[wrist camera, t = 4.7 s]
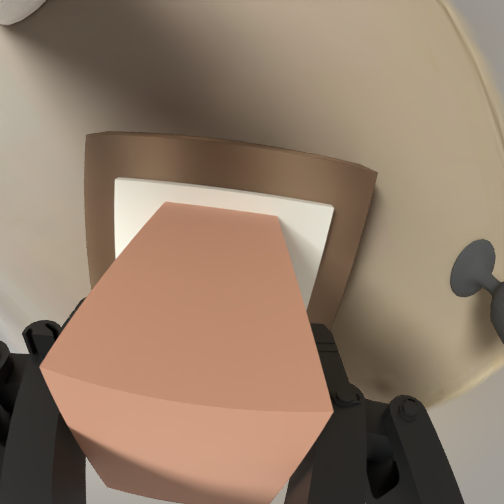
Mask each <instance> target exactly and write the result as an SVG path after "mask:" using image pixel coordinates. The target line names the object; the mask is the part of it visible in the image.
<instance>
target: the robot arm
mask: <svg viewBox="0 0 504 504" xmlns="http://www.w3.org/2000/svg"><path fill="white" fill-rule="evenodd" d="M85 299H86V297H85V298H84V299H82V300H81V301H80V302H79V304H78V305H77V306H76V308H75V310H74V311H73V312H72V313H71V315H70V317H69V318H68V319H67V320H66V322H65V323H64V324H63V326H62V327H60V325H59V324H57V323H56V322H54V321H49V320H40V321H37V322H34V323H32V324H30V325H29V326H27V327H26V328H25V329H24V331H23V332H22V335H23V338H24V340H25V343H26V346H27V348H28V351H29V353H30V354H16V353H10V351H9V349H8V347H7V345H6V344H5V343H4V342H2V341H0V504H86V482H85V481H86V480H85V467H86V464H85V463H86V460H85V459H86V456H85V454H84V452H83V451H82V449H81V448H80V446H79V444H78V443H77V441H76V439H75V438H74V436H73V434H72V432H71V431H70V429H69V427H68V425H67V424H66V422H65V420H64V418H63V416H62V414H61V412H60V410H59V408H58V406H57V404H56V402H55V400H54V398H53V396H52V394H51V392H50V390H49V388H48V386H47V383H46V381H45V379H44V377H43V374H42V372H41V370H40V365H41V363H42V362H43V360H44V359H45V357H46V355H47V354H48V352H49V351H50V349H51V348H52V346H53V345H54V343H55V342H56V340H57V339H58V337H59V336H60V334H61V333H62V331H63V330H64V328H65V327H66V325H67V324H68V322H69V321H70V320H71V318H72V317H73V315H74V314H75V313H76V311H77V310H78V308H79V307H80V306H81V304H82V303H83V301H84V300H85ZM310 326H311V330H312V333H313V337H314V340H315V344H316V348H317V351H318V355H319V358H320V362H321V366H322V369H323V373H324V377H325V380H326V384H327V388H328V392H329V396H330V399H331V403H332V407H333V411H334V412H333V413H332V415H331V417H330V418H329V420H328V422H327V423H326V425H325V427H324V428H323V430H322V431H321V433H320V435H319V436H318V438H317V439H316V441H315V442H314V444H313V445H312V447H311V448H310V450H309V451H308V453H307V454H306V456H305V457H304V459H303V460H302V461H301V463H300V464H299V466H298V467H297V469H296V470H295V471H294V473H293V474H292V475H291V477H290V479H289V484H288V489H287V493H286V497H285V502H284V504H365V503H366V504H464V501H463V498H462V496H461V493H460V490H459V487H458V485H457V482H456V479H455V477H454V474H453V471H452V469H451V466H450V464H449V461H448V459H447V456H446V454H445V452H444V449H443V447H442V445H441V442H440V440H439V438H438V436H437V433H436V431H435V428H434V426H433V424H432V422H431V420H430V418H429V415H428V413H427V411H426V409H425V407H424V406H423V404H422V403H421V402H420V401H418V400H417V399H416V398H413V397H411V396H407V395H400V396H397V397H395V398H394V399H393V400H392V401H391V402H390V404H385V403H380V402H376V401H371V400H368V399H365V398H364V395H363V394H362V392H361V391H360V390H359V389H358V388H357V387H355V386H354V385H352V384H350V383H349V381H348V378H347V375H346V372H345V369H344V366H343V363H342V360H341V358H340V355H339V353H338V349H337V346H336V345H335V341H334V338H333V335H332V333H331V332H330V331H329V329H328V328H327V327H326V326H325V325H324V324H317V323H310Z"/></svg>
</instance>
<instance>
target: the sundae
mask: <svg viewBox="0 0 504 504" xmlns="http://www.w3.org/2000/svg"><path fill="white" fill-rule="evenodd" d="M494 264H495V252H494V248H493V246H492V244H491V243H490V242H489V241H487V240H483V239H481V240H477V241H474V242H472V243H471V244H469V245H468V246H467V247H466V248H465V249H464V250H463V251H462V252H461V254H460V255H459V256H458V258H457V260H456V262H455V264H454V266H453V269H452V273H451V281H450V282H451V287H452V291H453V292H454V293H455V294H456V295H457V296H460V297H468V296H471V295H473V294H475V293H476V292H478V291H479V290H480V289H481V288H482V287H483V288H484V289H486V290H487V291H488V292H489V293H490V294H491V295H492V302H491V312H490V317H491V322H492V324H493V326H494V328H495V330H496V332H497V334H498V336H499V337H500V339H501V341H502V342H503V344H504V282H500V281H498V280H497V279H496V278H495V277H494V276H493V275H492V274H491V273H492V271H493V268H494Z"/></svg>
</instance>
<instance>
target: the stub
mask: <svg viewBox="0 0 504 504" xmlns="http://www.w3.org/2000/svg"><path fill="white" fill-rule="evenodd" d="M333 211H334V207H333V206H332V205H330V204H324V203H319V202H313V201H307V200H301V199H295V198H289V197H283V196H276V195H270V194H263V193H256V192H249V191H242V190H235V189H227V188H220V187H212V186H203V185H195V184H186V183H177V182H167V181H157V180H146V179H135V178H123V177H118V178H117V179H115V193H114V228H115V257H116V260H115V261H114V262H113V263H112V265H111V266H110V267H109V268H108V270H107V271H106V272H105V274H104V275H103V276H102V277H101V279H100V280H99V281H98V283H97V284H96V285H95V287H94V288H93V289H92V291H91V292H90V293H89V295H88V296H87V297H86V299H85V300H84V301H83V303H82V304H81V306H80V307H79V308H78V310H77V311H76V313H75V314H74V315H73V317H72V318H71V320H70V321H69V322H68V324H67V325H66V327H65V328H64V330H63V331H62V333H61V334H60V336H59V337H58V339H57V340H56V342H55V343H54V345H53V346H52V348H51V349H50V351H49V352H48V354H47V355H46V357H45V359H44V360H43V362H42V363H41V365H40V370H41V372H42V374H43V377H44V379H45V381H46V383H47V386H48V388H49V390H50V392H51V394H52V396H53V398H54V400H55V402H56V404H57V406H58V408H59V410H60V412H61V414H62V416H63V418H64V420H65V422H66V424H67V425H68V427H69V429H70V431H71V432H72V434H73V436H74V438H75V439H76V441H77V443H78V444H79V446H80V448H81V449H82V451H83V452H84V454H85V456H86V457H87V458H88V460H89V462H90V463H91V465H92V466H93V468H94V469H95V471H96V472H97V474H98V475H99V476H100V478H101V479H102V481H103V482H104V483H105V485H106V486H107V487H109V488H112V489H116V490H120V491H124V492H127V493H132V494H136V495H140V496H145V497H149V498H154V499H159V500H164V501H171V502H176V503H184V504H270V503H271V502H272V500H273V499H274V498H275V496H276V495H277V494H278V493H279V491H280V490H281V489H282V488H283V486H284V485H285V483H286V482H287V481H288V480H289V478H290V477H291V475H292V474H293V473H294V471H295V470H296V469H297V467H298V466H299V464H300V463H301V461H302V460H303V459H304V457H305V456H306V454H307V453H308V451H309V450H310V448H311V447H312V445H313V444H314V442H315V441H316V439H317V438H318V436H319V435H320V433H321V431H322V430H323V428H324V427H325V425H326V423H327V422H328V420H329V418H330V417H331V415H332V413H333V412H334V411H333V407H332V403H331V399H330V396H329V392H328V388H327V384H326V380H325V377H324V373H323V369H322V366H321V362H320V358H319V355H318V351H317V348H316V344H315V340H314V337H313V333H312V330H311V326H310V323H309V319H308V316H307V312H306V310H307V307H308V303H309V300H310V297H311V293H312V290H313V286H314V283H315V279H316V276H317V272H318V269H319V265H320V261H321V258H322V254H323V250H324V246H325V243H326V239H327V235H328V231H329V227H330V223H331V219H332V215H333Z"/></svg>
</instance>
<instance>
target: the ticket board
mask: <svg viewBox="0 0 504 504" xmlns="http://www.w3.org/2000/svg"><path fill="white" fill-rule="evenodd" d="M377 174H378V173H377V172H375V171H373V170H371V169H369V168H367V167H364V166H362V165H360V164H356V163H352V162H348V161H343V160H339V159H334V158H330V157H325V156H320V155H315V154H310V153H305V152H300V151H295V150H289V149H284V148H278V147H272V146H266V145H259V144H253V143H246V142H238V141H231V140H223V139H214V138H205V137H196V136H185V135H173V134H159V133H141V132H113V131H106V132H100V133H94V134H88V135H86V144H85V172H84V198H85V227H86V242H87V255H88V265H89V275H90V283H91V291H92V289H93V288H94V287H95V285H96V284H97V283H98V281H99V280H100V279H101V277H102V276H103V275H104V274H105V272H106V271H107V270H108V268H109V267H110V266H111V265H112V263H113V262H114V261H115V260H116V257H115V228H114V193H115V179H117V178H118V177H123V178H135V179H146V180H157V181H167V182H177V183H186V184H195V185H203V186H212V187H220V188H227V189H235V190H242V191H249V192H256V193H263V194H270V195H276V196H283V197H289V198H295V199H301V200H307V201H313V202H319V203H324V204H330V205H332V206H333V207H334V211H333V215H332V219H331V223H330V227H329V231H328V235H327V239H326V243H325V246H324V250H323V254H322V258H321V261H320V265H319V269H318V272H317V276H316V279H315V283H314V286H313V290H312V293H311V297H310V300H309V303H308V307H307V310H306V312H307V316H308V319H309V323H317V324H324V325H325V326H326V327H327V328H328V329H329V331H330V329H331V326H332V323H333V321H334V318H335V315H336V312H337V310H338V307H339V304H340V301H341V298H342V295H343V292H344V290H345V287H346V284H347V281H348V277H349V274H350V271H351V268H352V265H353V262H354V259H355V255H356V252H357V249H358V245H359V242H360V239H361V235H362V232H363V228H364V225H365V221H366V217H367V214H368V210H369V206H370V202H371V199H372V195H373V191H374V187H375V182H376V178H377Z"/></svg>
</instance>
